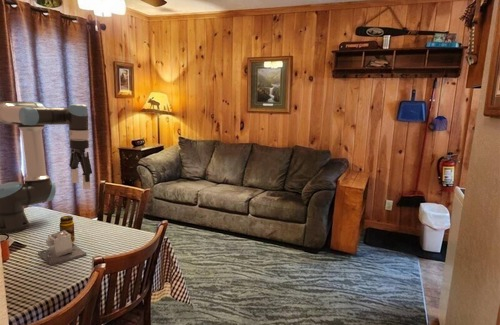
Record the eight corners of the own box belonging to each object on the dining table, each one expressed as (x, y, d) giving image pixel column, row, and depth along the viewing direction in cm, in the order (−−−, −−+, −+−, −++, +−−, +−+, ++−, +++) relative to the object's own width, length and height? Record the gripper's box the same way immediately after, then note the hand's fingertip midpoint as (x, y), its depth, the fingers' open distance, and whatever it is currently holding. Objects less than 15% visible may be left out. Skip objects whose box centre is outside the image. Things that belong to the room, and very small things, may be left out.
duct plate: (38, 253, 144) (36, 232, 142) (72, 244, 154) (71, 224, 153) (50, 265, 134) (49, 242, 133) (86, 255, 145) (85, 233, 143)
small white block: (66, 246, 149) (64, 230, 147) (72, 251, 144) (70, 234, 143) (46, 253, 142) (43, 236, 141) (52, 258, 138) (49, 241, 136)
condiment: (76, 242, 157) (75, 218, 155) (55, 246, 153) (54, 221, 151) (74, 237, 163) (73, 213, 161) (54, 240, 158) (53, 216, 156)
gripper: (60, 136, 153) (62, 181, 157) (81, 143, 137) (82, 192, 140) (77, 136, 159) (79, 179, 162) (99, 142, 142) (100, 190, 146)
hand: (80, 185), depth 151 cm, fingers open, 13 cm apart
